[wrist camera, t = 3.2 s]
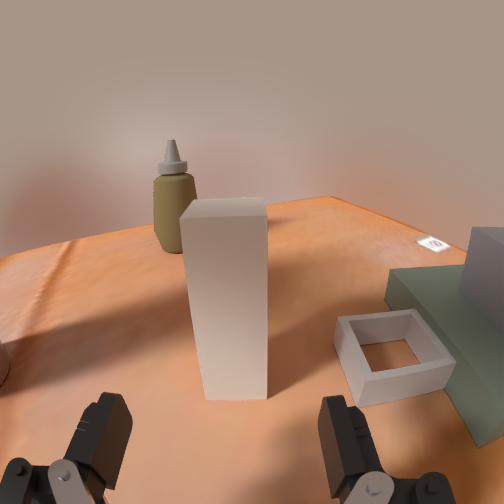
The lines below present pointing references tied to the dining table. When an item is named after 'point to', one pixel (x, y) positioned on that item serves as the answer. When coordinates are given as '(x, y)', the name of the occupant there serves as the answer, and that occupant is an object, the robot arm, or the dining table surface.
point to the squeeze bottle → (172, 198)
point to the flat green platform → (439, 337)
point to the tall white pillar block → (228, 294)
